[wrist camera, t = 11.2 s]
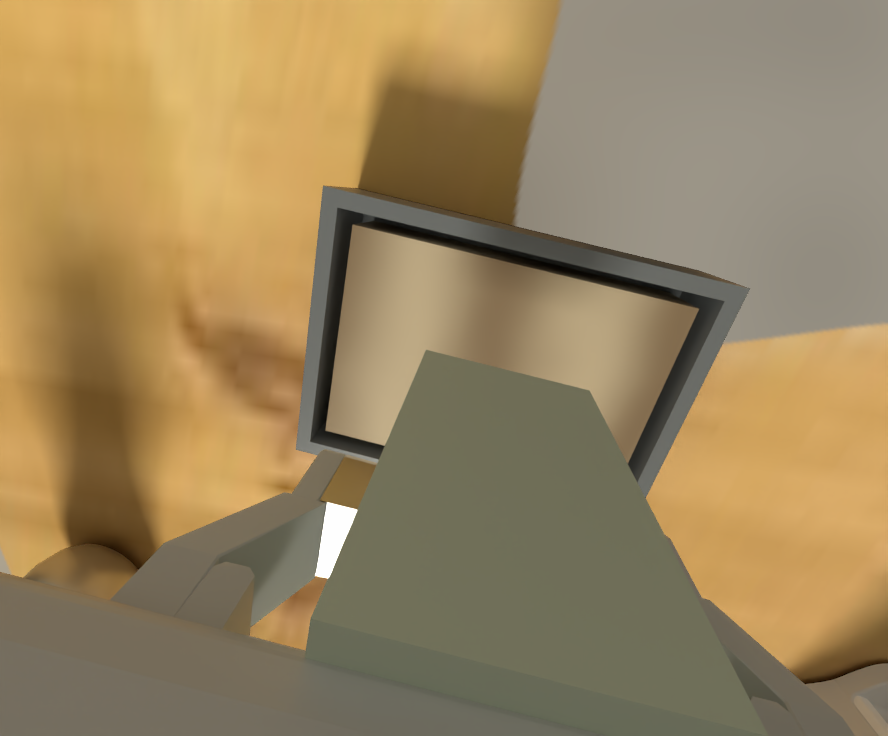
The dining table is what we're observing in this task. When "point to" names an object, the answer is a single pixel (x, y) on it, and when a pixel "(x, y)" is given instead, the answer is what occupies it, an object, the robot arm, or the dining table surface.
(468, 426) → the sage carton
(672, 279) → the tote
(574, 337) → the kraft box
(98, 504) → the dining table surface
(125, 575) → the plastic bottle
